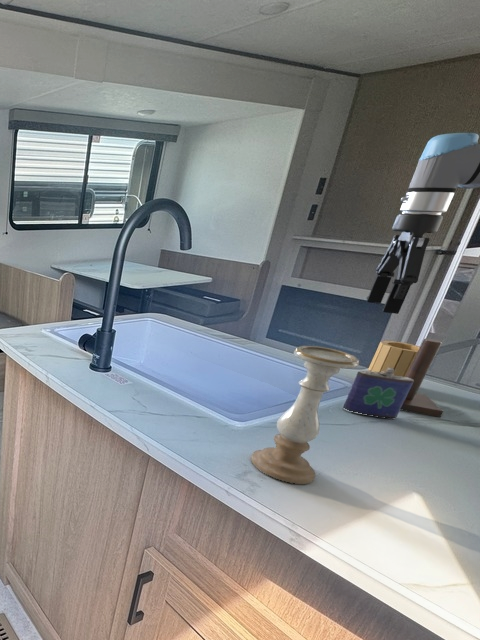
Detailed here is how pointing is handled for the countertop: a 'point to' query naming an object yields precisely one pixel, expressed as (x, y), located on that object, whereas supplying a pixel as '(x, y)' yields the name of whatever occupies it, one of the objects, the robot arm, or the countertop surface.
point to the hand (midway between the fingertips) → (381, 307)
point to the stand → (417, 373)
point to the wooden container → (394, 357)
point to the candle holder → (302, 417)
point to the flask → (378, 393)
